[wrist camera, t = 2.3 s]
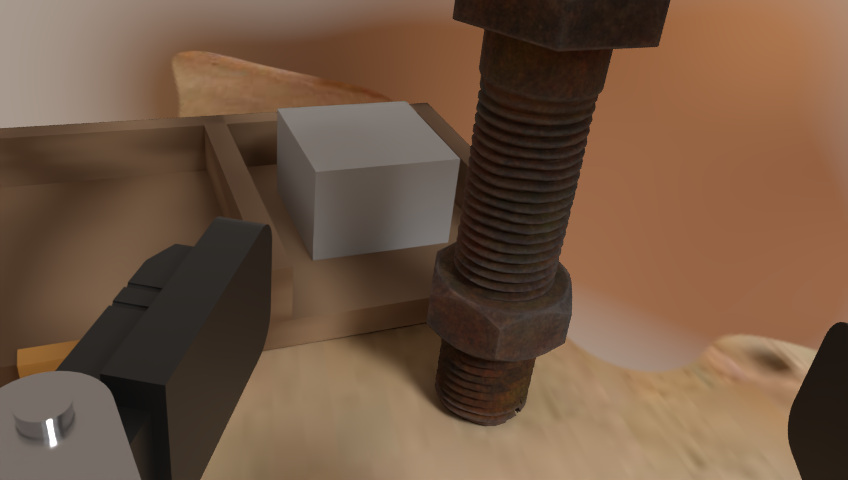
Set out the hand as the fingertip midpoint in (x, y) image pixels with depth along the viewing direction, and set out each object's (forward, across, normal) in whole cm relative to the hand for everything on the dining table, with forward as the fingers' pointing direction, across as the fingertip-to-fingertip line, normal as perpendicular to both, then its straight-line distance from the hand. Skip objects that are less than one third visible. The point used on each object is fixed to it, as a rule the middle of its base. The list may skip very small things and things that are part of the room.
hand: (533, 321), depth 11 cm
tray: (+18, +10, +12) cm, 24 cm away
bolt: (+12, 0, +12) cm, 17 cm away
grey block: (+21, +6, +11) cm, 24 cm away
